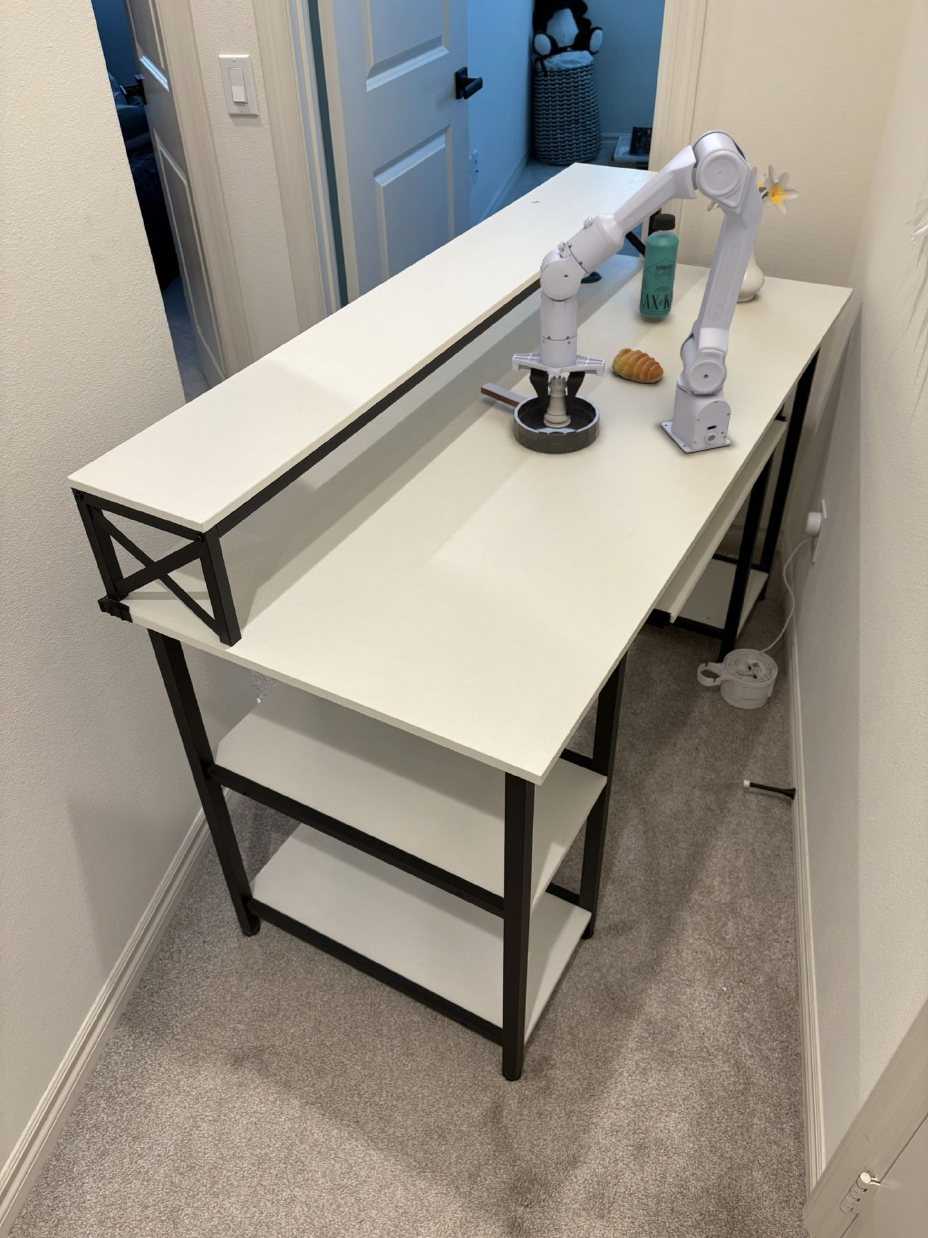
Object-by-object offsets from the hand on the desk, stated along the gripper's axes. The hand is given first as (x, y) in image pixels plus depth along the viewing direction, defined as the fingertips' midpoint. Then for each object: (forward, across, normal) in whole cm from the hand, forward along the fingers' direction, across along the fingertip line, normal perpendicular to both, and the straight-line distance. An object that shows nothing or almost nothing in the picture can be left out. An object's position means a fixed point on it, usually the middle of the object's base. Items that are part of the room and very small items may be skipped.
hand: (557, 411), depth 146 cm
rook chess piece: (+2, 0, 0) cm, 2 cm away
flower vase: (+4, +27, +62) cm, 67 cm away
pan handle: (+2, -10, +6) cm, 12 cm away
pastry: (+4, +11, +24) cm, 26 cm away
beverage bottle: (+4, +11, +48) cm, 50 cm away
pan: (+4, 0, 0) cm, 4 cm away
